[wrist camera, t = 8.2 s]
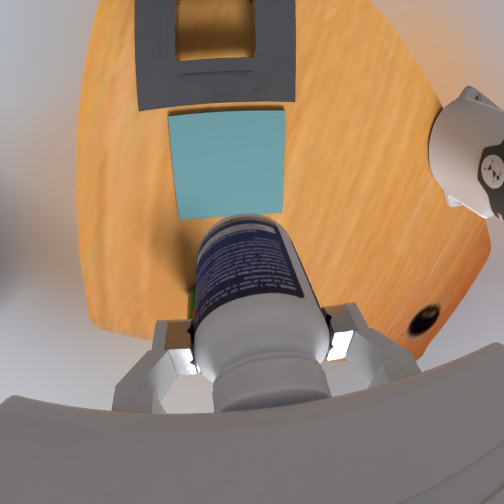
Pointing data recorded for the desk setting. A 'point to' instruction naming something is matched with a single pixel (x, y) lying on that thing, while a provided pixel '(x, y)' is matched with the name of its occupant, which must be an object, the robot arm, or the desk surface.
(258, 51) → the square frame
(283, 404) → the pill bottle
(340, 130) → the desk surface
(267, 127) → the mat
